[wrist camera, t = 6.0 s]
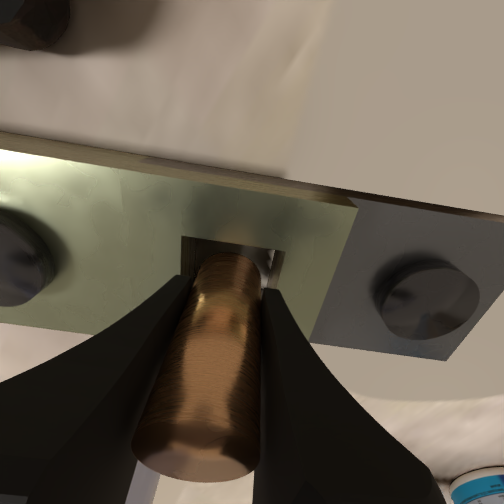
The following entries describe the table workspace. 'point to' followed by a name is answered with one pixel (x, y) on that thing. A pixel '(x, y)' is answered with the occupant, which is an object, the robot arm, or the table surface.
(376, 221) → the green peg socket base
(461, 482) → the beverage bottle
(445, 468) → the table surface
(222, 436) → the copper pin
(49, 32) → the black sponge
